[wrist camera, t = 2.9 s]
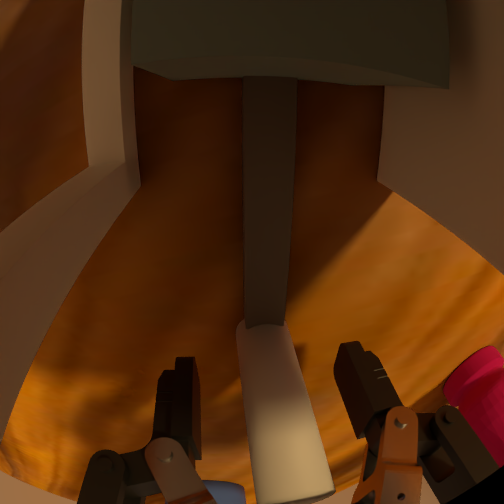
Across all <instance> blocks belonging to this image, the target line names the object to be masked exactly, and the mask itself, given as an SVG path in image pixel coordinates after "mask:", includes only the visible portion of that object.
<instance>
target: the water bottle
mask: <svg viewBox="0 0 504 504" xmlns="http://www.w3.org/2000/svg"><path fill="white" fill-rule="evenodd" d="M202 482H203V483H204V485H205V486H206V488H207V489H208V491H209V492H210V494H211V495H212V496H213V498H214V499H215V501H216V502H217V504H246V499H245V491H244V487H243V486H241V485H239V484H235V483H231V482H223V481H210V480H202ZM165 504H168V503H167V501H166V499H165Z"/></svg>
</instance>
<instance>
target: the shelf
mask: <svg viewBox="0 0 504 504" xmlns="http://www.w3.org/2000/svg"><path fill="white" fill-rule="evenodd" d="M132 5H133V0H85V3H84V15H83V31H82V96H83V113H84V126H85V137H86V146H87V155H88V163H89V167H87V168H86V169H84V170H83V171H81V172H80V173H78V174H77V175H75V176H74V177H72V178H71V179H69V180H68V181H66V182H65V183H63V184H62V185H61V186H59V187H58V188H56V189H55V190H53V191H52V192H51V193H49V194H48V195H47V196H45V197H44V198H43V199H41V200H40V201H39V202H37V203H36V204H35V205H33V206H32V207H31V208H29V209H28V210H27V211H26V212H24V213H23V214H22V215H21V216H19V217H18V218H17V219H16V220H15V221H13V222H12V223H11V224H10V225H9V226H7V227H6V228H5V229H4V230H3V231H2V232H0V444H1V441H2V438H3V435H4V432H5V429H6V426H7V423H8V420H9V417H10V415H11V412H12V409H13V407H14V404H15V401H16V399H17V396H18V394H19V391H20V389H21V387H22V384H23V382H24V380H25V377H26V375H27V373H28V370H29V368H30V366H31V364H32V362H33V359H34V357H35V355H36V353H37V351H38V349H39V347H40V345H41V343H42V341H43V339H44V337H45V335H46V333H47V331H48V329H49V327H50V325H51V323H52V321H53V320H54V318H55V316H56V314H57V312H58V310H59V309H60V307H61V305H62V303H63V302H64V300H65V298H66V296H67V295H68V293H69V291H70V289H71V288H72V286H73V284H74V283H75V281H76V279H77V278H78V276H79V274H80V273H81V271H82V270H83V268H84V266H85V265H86V263H87V262H88V260H89V259H90V257H91V255H92V254H93V252H94V251H95V249H96V248H97V246H98V245H99V243H100V242H101V240H102V239H103V237H104V236H105V235H106V233H107V232H108V230H109V229H110V227H111V226H112V224H113V223H114V222H115V220H116V219H117V217H118V216H119V215H120V213H121V212H122V211H123V209H124V208H125V207H126V205H127V204H128V202H129V201H130V200H131V198H132V197H133V196H134V195H135V193H136V192H137V191H138V189H139V188H140V187H141V181H140V172H139V162H138V151H137V139H136V125H135V108H134V80H133V65H131V26H132ZM446 6H447V16H448V30H449V56H450V74H449V89H440V88H428V87H414V86H390V85H385V92H384V111H383V125H382V137H381V148H380V157H379V166H378V175H377V181H378V182H380V183H381V184H383V185H384V186H386V187H388V188H389V189H391V190H392V191H394V192H395V193H397V194H398V195H400V196H401V197H403V198H404V199H406V200H407V201H409V202H410V203H412V204H413V205H415V206H416V207H418V208H419V209H421V210H422V211H424V212H425V213H426V214H428V215H429V216H431V217H432V218H433V219H435V220H436V221H437V222H439V223H440V224H442V225H443V226H444V227H446V228H447V229H448V230H450V231H451V232H452V233H454V234H455V235H456V236H457V237H459V238H460V239H461V240H463V241H464V242H465V243H466V244H468V245H469V246H470V247H471V248H473V249H474V250H475V251H476V252H478V253H479V254H480V255H481V256H482V257H484V258H485V259H486V260H487V261H488V262H489V263H491V264H492V265H493V266H494V267H495V268H496V269H497V270H499V271H500V272H501V273H502V274H503V275H504V0H446ZM445 504H504V465H503V466H502V467H500V468H499V469H498V470H496V471H495V472H494V473H492V474H491V475H489V476H488V477H487V478H485V479H484V480H482V481H481V482H479V483H478V484H476V485H475V486H473V487H472V488H470V489H469V490H467V491H465V492H464V493H462V494H460V495H459V496H457V497H455V498H454V499H452V500H450V501H448V502H447V503H445Z"/></svg>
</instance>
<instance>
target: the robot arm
mask: <svg viewBox="0 0 504 504" xmlns="http://www.w3.org/2000/svg"><path fill="white" fill-rule="evenodd" d="M334 378H335V381H336V383H337V386H338V389H339V391H340V394H341V397H342V399H343V402H344V405H345V407H346V410H347V413H348V415H349V418H350V421H351V424H352V426H353V429H354V432H355V435H356V437H357V439H360V438H364V437H366V440H367V442H368V443H367V444H366V447H365V452H364V458H363V464H362V469H361V475H360V480H359V484H358V486H357V488H356V490H355V492H354V495H353V498H352V502H351V504H420V496H421V485H422V474H423V476H424V477H425V479H426V481H427V482H428V484H429V486H430V487H431V489H432V491H433V492H434V494H435V496H436V497H437V499H438V501H439V503H440V504H445V503H447V502H448V501H450V500H452V499H454V498H455V497H457V496H459V495H460V494H462V493H464V492H465V491H467V490H469V489H470V488H472V487H473V486H475V485H476V484H478V483H479V482H481V481H482V480H484V479H485V478H487V477H488V476H489V475H491V474H492V473H494V472H495V471H496V470H498V469H499V466H498V465H497V463H496V462H495V460H494V459H493V457H492V456H491V454H490V453H489V451H488V450H487V448H486V447H485V446H484V444H483V443H482V441H481V440H480V438H479V437H478V436H477V434H476V433H475V432H474V430H473V429H472V427H471V426H470V425H469V423H468V422H467V421H466V419H465V418H464V416H463V415H462V414H461V412H460V411H459V410H458V409H457V408H455V407H453V406H449V405H446V406H442V407H441V408H439V409H438V410H437V412H436V413H415V412H414V411H413V410H412V409H410V408H408V407H405V406H403V404H402V403H401V401H400V399H399V397H398V395H397V393H396V391H395V389H394V387H393V385H392V383H391V381H390V379H389V377H387V373H386V371H385V369H383V366H382V364H381V362H380V360H379V358H378V357H377V356H375V355H374V354H373V353H372V352H371V351H364V349H363V348H362V346H361V344H360V342H359V341H353V342H347V343H341V344H340V346H339V350H338V353H337V357H336V360H335V364H334ZM195 460H202V457H201V415H200V382H199V376H198V371H197V366H196V361H195V357H176V361H175V370H164V371H163V373H162V375H161V376H160V378H159V379H158V385H157V394H156V403H155V413H154V424H153V434H152V438H151V440H150V442H149V443H148V444H147V445H146V446H145V447H144V448H142V449H140V450H137V451H133V452H129V453H124V454H118V453H116V452H114V451H112V450H101V451H98V452H96V453H95V454H94V455H93V456H92V457H91V459H90V461H89V464H88V468H87V471H86V474H85V477H84V481H83V484H82V487H81V491H80V494H79V498H78V501H77V504H145V499H146V496H149V495H153V494H158V493H162V494H163V495H164V497H165V499H166V501H167V503H168V504H217V502H216V501H215V499H214V498H213V496H212V495H211V494H210V492H209V491H208V489H207V488H206V486H205V485H204V483H203V482H202V480H201V478H200V477H199V475H198V474H197V472H196V470H195Z"/></svg>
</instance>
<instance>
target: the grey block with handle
mask: <svg viewBox="0 0 504 504" xmlns="http://www.w3.org/2000/svg"><path fill="white" fill-rule="evenodd" d="M131 65H133V66H136V67H139V68H141V69H144V70H146V71H149V72H152V73H154V74H157V75H159V76H162V77H164V78H167V79H169V80H172V81H178V80H191V79H207V78H242V202H243V283H244V319H243V320H242V321H241V322H240V323H239V324H238V326H237V328H236V342H237V351H238V361H239V369H240V378H241V387H242V395H243V404H244V412H245V420H246V428H247V436H248V443H249V451H250V459H251V466H252V473H253V480H254V487H255V494H256V501H257V504H311V503H315V502H318V501H320V500H323V499H325V498H327V497H329V496H331V495H333V494H334V493H335V492H336V490H335V487H334V483H333V480H332V476H331V473H330V469H329V466H328V462H327V458H326V455H325V451H324V448H323V444H322V441H321V438H320V434H319V431H318V427H317V424H316V420H315V417H314V413H313V410H312V406H311V403H310V400H309V396H308V393H307V389H306V386H305V383H304V379H303V376H302V373H301V369H300V366H299V362H298V359H297V356H296V352H295V349H294V346H293V342H292V339H291V336H290V332H289V329H288V326H287V323H286V321H285V320H284V319H285V307H286V296H287V284H288V271H289V258H290V244H291V229H292V212H293V195H294V175H295V152H296V123H297V79H298V80H310V81H321V82H330V83H338V84H346V85H390V86H414V87H428V88H440V89H449V74H450V56H449V30H448V16H447V6H446V0H133V5H132V26H131Z"/></svg>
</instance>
